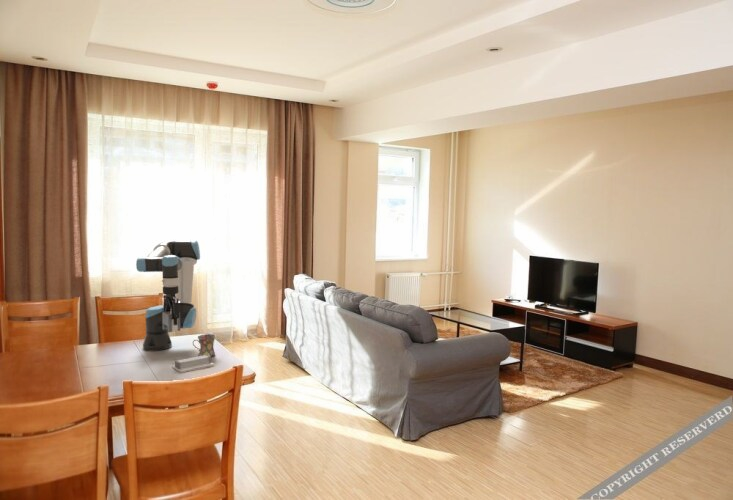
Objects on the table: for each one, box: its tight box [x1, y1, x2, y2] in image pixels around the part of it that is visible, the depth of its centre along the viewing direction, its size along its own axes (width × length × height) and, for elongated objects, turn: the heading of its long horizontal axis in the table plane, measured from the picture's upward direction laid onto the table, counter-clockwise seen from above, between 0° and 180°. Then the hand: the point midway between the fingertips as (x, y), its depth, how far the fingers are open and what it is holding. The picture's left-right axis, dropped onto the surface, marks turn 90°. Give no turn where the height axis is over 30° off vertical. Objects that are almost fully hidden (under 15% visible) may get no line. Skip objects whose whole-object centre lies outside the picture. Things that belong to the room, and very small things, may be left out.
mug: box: [192, 333, 217, 357], centre depth 281 cm, size 12×9×11 cm
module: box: [162, 311, 181, 333], centre depth 269 cm, size 8×6×9 cm
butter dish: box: [171, 354, 215, 374], centre depth 263 cm, size 11×17×4 cm, turn 132°
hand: (171, 329), depth 269 cm, fingers closed on module, 8 cm apart
